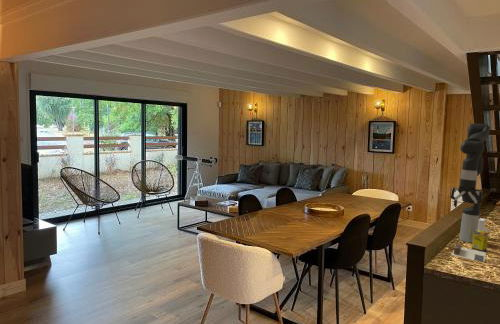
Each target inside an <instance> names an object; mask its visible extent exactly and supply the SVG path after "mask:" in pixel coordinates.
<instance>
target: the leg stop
mask: <svg viewBox="0 0 500 324" xmlns="http://www.w3.org/2000/svg"><path fill="white" fill-rule="evenodd" d="M476 260H477V262H480V261H482V262H481V263H484V262H483V260H484V256H481V255H476V254H475V258H474V260H473V261H476Z"/></svg>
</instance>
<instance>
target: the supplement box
mask: <svg viewBox="0 0 500 324" xmlns="http://www.w3.org/2000/svg"><path fill="white" fill-rule="evenodd" d="M489 233H490V231H489V232H486V231H482V230H476V231H474V234H473V242H472V243H471V250H476V251H481V252H485V251H487V248H488V242H489V235H490V234H489Z"/></svg>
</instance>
